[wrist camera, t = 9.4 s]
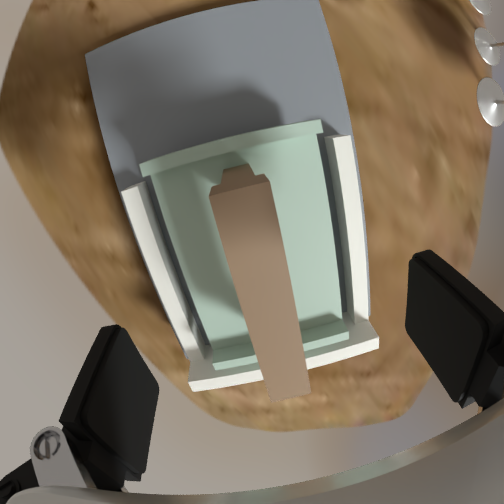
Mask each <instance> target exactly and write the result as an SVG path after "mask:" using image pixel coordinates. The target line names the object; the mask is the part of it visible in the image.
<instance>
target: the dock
mask: <svg viewBox="0 0 504 504" xmlns="http://www.w3.org/2000/svg"><path fill="white" fill-rule="evenodd" d="M85 58H86V64H87V69H88V75H89V80H90V85H91V89H92V94H93V99H94V103H95V107H96V112H97V116H98V120H99V124H100V128H101V132H102V136H103V139H104V143H105V147H106V150H107V154H108V157H109V161H110V164H111V168H112V171H113V174H114V178H115V181H116V184H117V187H118V190H119V194H120V197H121V200H122V203H123V206H124V209H125V212H126V214H127V217H128V220H129V223H130V226H131V229H132V231H133V234H134V237H135V240H136V242H137V245H138V248H139V250H140V253H141V256H142V258H143V261H144V263H145V266H146V268H147V271H148V273H149V276H150V278H151V281H152V283H153V285H154V288H155V290H156V293H157V295H158V297H159V300H160V302H161V304H162V306H163V309H164V311H165V313H166V316H167V318H168V320H169V322H170V324H171V327H172V329H173V331H174V333H175V335H176V337H177V339H178V341H179V344H180V346H181V348H182V350H183V352H184V354H185V356H186V358H187V359H189V360H190V370H189V377H188V383H189V385H190V387H191V389H192V390H193V392H195V391H203V390H209V389H216V388H222V387H228V386H233V385H239V384H244V383H249V382H254V381H259V380H264V379H263V376H262V373H261V370H260V367H259V363H258V362H257V363H252V364H247V365H242V366H237V367H232V368H226V369H221V370H215V368H214V366H213V364H212V361H213V349H212V346H211V344H210V342H209V339H208V337H207V334H206V332H205V329H204V327H203V324H202V322H201V319H200V317H199V314H198V312H197V309H196V307H195V304H194V302H193V299H192V296H191V294H190V291H189V288H188V286H187V283H186V280H185V278H184V275H183V272H182V269H181V267H180V264H179V261H178V258H177V255H176V253H175V250H174V247H173V244H172V241H171V238H170V235H169V232H168V229H167V226H166V223H165V220H164V217H163V214H162V211H161V208H160V205H159V202H158V198H157V195H156V192H155V189H154V185H153V182H152V179H151V175H148V176H145V177H143V176H142V172H141V169H140V166H139V164H141V163H143V162H146V161H148V160H151V159H154V158H157V157H160V156H163V155H166V154H169V153H173V152H176V151H179V150H182V149H186V148H189V147H193V146H196V145H200V144H204V143H207V142H211V141H215V140H219V139H223V138H226V137H231V136H235V135H239V134H243V133H247V132H252V131H256V130H261V129H265V128H270V127H275V126H280V125H285V124H291V123H296V122H302V121H308V120H318V119H321V124H322V129H323V133H318V134H316V135H317V140H318V145H319V150H320V156H321V161H322V166H323V172H324V178H325V183H326V189H327V195H328V202H329V208H330V215H331V222H332V229H333V236H334V244H335V251H336V260H337V268H338V277H339V287H340V298H341V309H342V320H343V322H344V323H345V325H346V327H347V329H348V331H349V339H347V340H344V341H340V342H337V343H333V344H330V345H326V346H323V347H319V348H315V349H311V350H308V351H304V354H305V360H306V366H307V369H311V368H315V367H318V366H322V365H326V364H329V363H333V362H336V361H340V360H343V359H346V358H350V357H353V356H356V355H359V354H363V353H366V352H369V351H372V350H375V349H378V348H379V336H378V335H377V333H376V332H375V330H374V328H373V327H372V325H371V324H370V322H369V321H368V316H370V285H369V265H368V250H367V237H366V226H365V215H364V206H363V198H362V190H361V182H360V175H359V168H358V161H357V155H356V149H355V143H354V137H353V132H352V126H351V121H350V116H349V111H348V106H347V102H346V97H345V93H344V88H343V84H342V80H341V76H340V72H339V68H338V64H337V60H336V56H335V53H334V49H333V45H332V42H331V38H330V35H329V32H328V28H327V25H326V22H325V19H324V16H323V12H322V9H321V6H320V3H319V1H318V0H258V1H251V2H245V3H239V4H234V5H228V6H223V7H219V8H214V9H210V10H205V11H201V12H197V13H193V14H190V15H186V16H182V17H179V18H176V19H172V20H169V21H166V22H163V23H160V24H157V25H154V26H151V27H148V28H145V29H142V30H140V31H137V32H134V33H132V34H129V35H127V36H124V37H122V38H119V39H117V40H115V41H112V42H110V43H108V44H105V45H103V46H101V47H99V48H97V49H95V50H93V51H90V52H88V53H86V54H85Z"/></svg>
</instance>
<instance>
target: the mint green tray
mask: <svg viewBox="0 0 504 504" xmlns="http://www.w3.org/2000/svg"><path fill="white" fill-rule="evenodd" d="M318 133H323V129H322V124H321V119H318V120H308V121H302V122H296V123H291V124H285V125H280V126H275V127H270V128H265V129H261V130H256V131H252V132H247V133H243V134H239V135H235V136H231V137H226V138H223V139H219V140H215V141H211V142H207V143H204V144H200V145H196V146H193V147H189V148H186V149H182V150H179V151H176V152H173V153H169V154H166V155H163V156H160V157H157V158H154V159H151V160H148V161H146V162H143V163H141V164H139V166H140V169H141V172H142V176H143V177H145V176H148V175H151V179H152V182H153V185H154V189H155V192H156V195H157V198H158V202H159V205H160V208H161V211H162V214H163V217H164V220H165V223H166V226H167V229H168V232H169V235H170V238H171V241H172V244H173V247H174V250H175V253H176V255H177V258H178V261H179V264H180V267H181V269H182V272H183V275H184V278H185V280H186V283H187V286H188V288H189V291H190V294H191V296H192V299H193V302H194V304H195V307H196V309H197V312H198V314H199V317H200V319H201V322H202V324H203V327H204V329H205V332H206V334H207V337H208V339H209V342H210V344H211V346H212V349H213V361H212V364H213V366H214V368H215V370H221V369H226V368H232V367H237V366H242V365H247V364H252V363H257V362H258V363H259V367H260V370H261V373H262V376H263V379H264V382H265V385H266V388H267V391H268V394H269V397H270V400H271V402H276V401H281V400H285V399H290V398H294V397H298V396H302V395H306V394H310V393H311V389H310V383H309V377H308V371H307V366H306V360H305V354H304V351H308V350H311V349H315V348H319V347H323V346H326V345H330V344H333V343H337V342H340V341H344V340H347V339H349V331H348V329H347V327H346V325H345V323H344V322H343V320H342V309H341V298H340V287H339V277H338V268H337V260H336V251H335V244H334V236H333V229H332V222H331V215H330V208H329V202H328V195H327V189H326V183H325V178H324V172H323V166H322V161H321V156H320V150H319V145H318V140H317V135H316V134H318Z"/></svg>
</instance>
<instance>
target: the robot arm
mask: <svg viewBox="0 0 504 504" xmlns="http://www.w3.org/2000/svg"><path fill="white" fill-rule="evenodd" d="M405 328H406V331H407V333H408V335H409V336H410V338H411V339H412V341H413V342H414V343H415V345H416V346H417V348H418V349H419V351H420V352H421V354H422V355H423V356H424V358H425V359H426V361H427V362H428V364H429V365H430V367H431V368H432V370H433V371H434V373H435V374H436V376H437V377H438V379H439V380H440V382H441V383H442V385H443V386H444V388H445V390H446V391H447V393H448V394H449V396H450V397H451V399H452V400H453V401H454V402H458V403H459V405H460V406H461V408H464V407H466V406H468V405H470V404H471V403H473V402H475V401H476V402H477V404H478V406H479V408H478V414H477V415H475V416H474V417H472V418H470V419H468V420H467V421H465V422H463V423H461V424H459V425H458V426H455V427H454V428H452V429H450V430H448V431H446V432H444V433H442V434H440V435H438V436H436V437H434V438H432V439H429V440H428V441H425V442H423V443H421V444H419V445H416V446H414V447H412V448H409V449H407V450H404V451H402V452H400V453H397V454H395V455H392V456H389V457H387V458H384V459H382V460H378V461H376V462H373V463H370V464H367V465H364V466H361V467H358V468H354V469H351V470H348V471H344V472H341V473H337V474H334V475H330V476H326V477H322V478H318V479H314V480H309V481H305V482H300V483H295V484H290V485H285V486H279V487H273V488H266V489H260V490H252V491H243V492H233V493H220V494H205V495H204V494H202V495H158V494H140V493H129V492H128V491H127V489H126V488H125V486H124V481H125V480H127V481H141V475H142V473H144V472H145V471H146V466H147V459H148V452H149V446H150V440H151V434H152V428H153V422H154V417H155V411H156V406H157V401H158V395H159V386H158V383H157V381H156V379H155V378H154V376H153V375H152V373H151V371H150V370H149V368H148V366H147V365H146V363H145V362H144V360H143V358H142V357H141V355H140V353H139V351H138V350H137V348H136V346H135V345H134V343H133V341H132V339H131V338H130V336H129V334H128V332H127V331H126V329H125V328H121V327H120V326H119V325H117V324H116V325H111V326H105V327H102V328H101V329H100V331H99V333H98V335H97V337H96V339H95V341H94V343H93V345H92V347H91V349H90V351H89V353H88V355H87V358H86V360H85V362H84V364H83V366H82V368H81V370H80V372H79V375H78V377H77V379H76V381H75V384H74V386H73V388H72V390H71V393H70V395H69V397H68V400H67V402H66V405H65V407H64V409H63V412H62V414H61V417H60V419H59V422H60V423H61V424H62V425H63V428H62V430H61V429H59V428H58V427H54V426H51V427H46V428H44V429H42V430H41V431H40V432H38V433H37V434H36V436H35V437H34V438H33V440H32V442H31V446H30V455H31V459H30V460H28V461H27V462H25V463H24V464H22V465H21V466H19V467H18V468H17V469H15V470H14V471H12V472H11V473H9V474H8V475H6V476H5V477H4V478H3V479H2V480H1V481H0V504H504V312H503V311H502V310H501V309H500V308H499V307H498V306H496V304H494V303H493V302H492V301H491V300H490V299H489V298H488V297H487V296H485V294H483V293H482V292H481V291H480V290H479V289H478V288H477V287H475V286H474V285H473V284H472V283H471V282H470V281H469V280H467V279H466V278H465V277H464V276H463V275H461V274H460V273H459V272H458V271H457V270H455V269H454V268H453V267H452V266H451V265H449V264H448V263H447V262H446V261H444V260H443V259H442V258H441V257H439V256H438V255H437V254H435V253H434V252H433V251H432V250H425V251H422V252H418V253H415V254H414V255H413V257H412V259H411V260H410V261H409V272H408V293H407V308H406V320H405Z"/></svg>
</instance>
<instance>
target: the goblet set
mask: <svg viewBox="0 0 504 504" xmlns="http://www.w3.org/2000/svg"><path fill="white" fill-rule="evenodd" d="M469 1H470V2H471V4H472V5H473V6H474V7H475V8H476V9H477V10H478V11H479V12H480V13H482V14H484V15H489V14H490V13H491V10H492V9H491V3H490V1H489V0H469ZM474 39H475V44H476V47H477V49H478V51H479V53H480V55H481V56H482V58H483V59H484V60H485V61H486V62H487V63H488V64H490V65H497V64H498V63H499V60H500V51H499V46H504V42H502V43H497V42H496V40H495V39H494V37H493V36H492V34H491V33H490V32H489V31H487V30H486V29H484V28H477V29H476V30H475V34H474ZM477 102H478V106H479V110H480V112H481V114H482V116H483V118H484V119H485V121H486V122H487V123H488V124H490V125H491V126H495V127H496V126H499V125H501V124H502V123H503V121H504V94H503V91H502V89H501V88H500V86H499V85H498V83H497V82H496V81H495V80H493V79H491V78H488V77H486V78H483V79H482V80H481V81H480V82H479V84H478V88H477Z"/></svg>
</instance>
